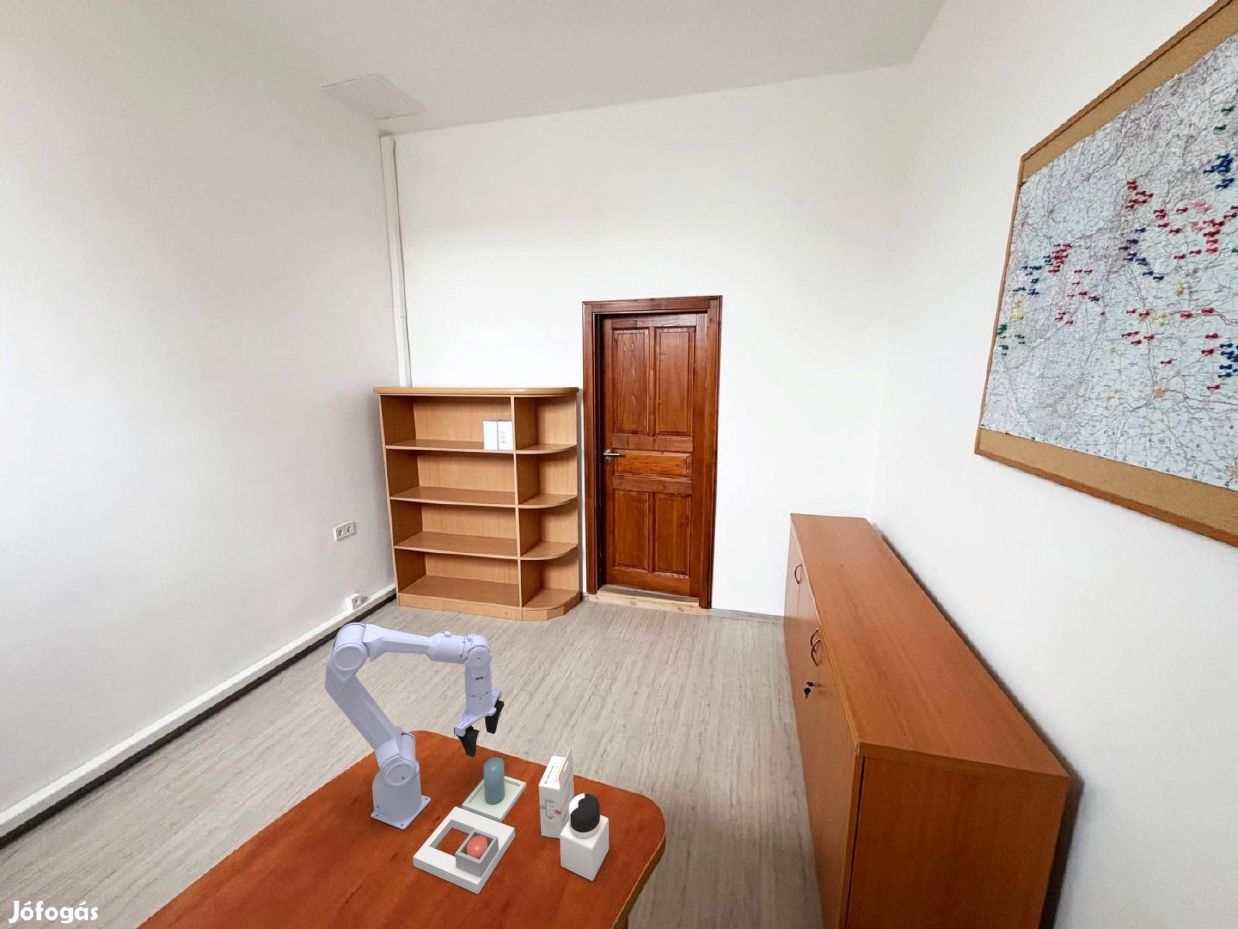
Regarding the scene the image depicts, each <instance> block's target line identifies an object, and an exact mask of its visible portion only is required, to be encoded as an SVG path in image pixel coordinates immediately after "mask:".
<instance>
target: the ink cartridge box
mask: <svg viewBox="0 0 1238 929" xmlns="http://www.w3.org/2000/svg"><path fill="white" fill-rule="evenodd" d="M568 749H569V750H568V751H567V754H566V757H564V756H557V755H552V756H551V758H550V761H549V763H548V765H547V766H546V769H545V771H544V772H543V775H542V777H541V779H540V782H539V784H538V793H539V794H538V796H539V797H538V798H539V814H540V815H539V816H540V818H539V819H540V832H541V833H540V835H541V836H543V837H547V838H554V839H559V840H560V833H561V832H562V830H563V829H564V827H565V826H566V824H567V822H568V821H569V804H570V802H571V801H572V799H573V798H575V788H574V787H575V785H574V782H575V780H574V758H573V750H572V747H571V746H570V747H569V748H568Z"/></svg>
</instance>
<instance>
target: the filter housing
mask: <svg viewBox="0 0 1238 929" xmlns="http://www.w3.org/2000/svg"><path fill="white" fill-rule="evenodd" d="M452 829H455V830H457V831H460V832H463V833H465V834H468V836H467V837H466V838H465V840H464V841H463V842H462V844H461V845H460V847H458V849H457V850H456V852H455V854H454V856H453V855H452V854H449V853H447V852H444V851H442V850H439V849H436V848H437V847H438V846H439V844H440V843H441V842H442V840H443V839H444V838H445V836H446V835H447V834H448V833H449V832H450V831H451V830H452ZM515 833H516V831H515V827H513V826H510V825H507V824H505V823H503V822H502V823H499V822H496V821H494V820H491V819H488V818H486V817H483V816H480V815H477V814H475V813H472V812H469V811H467V810H464V809H462V807H461V808H460V807H458V806H454V807H453V809H452V810H451V811H450V812H449V813H448V815H447V816H446V817H445V818H444V819H443V820H442V822H441V823H440V824H439V825H438V827H436V829H435V830H434V831H433V832H432V834H431V835H429V837H428V838H427V839H426V841H425V842H424V843H423V844H422V846H421V847H420V848H419V849H418V850H417V852H416V853H415V854H414V855H413V857H412V859H413V860H412V861H413V866H414V867H415V868H417V869H420V870H422V871H425V872H426V873H429V874H431V875H433V876H435V877H438V878H440V879H442V880H445V881H447V882H449V883H452V884H454V885H456V886H459V887H460V888H464V889H465V890H467V891H469V892H472V893H474V894H477V895H479V894H480V892H481V890H482V889H483V887H484V886H485V884H486V883H487V881H488V880H489V878H490V877H491V875H492V873H493V872H494V870H495V868H496V867H497V865H498V864H499V862H500V861H501V860H502V858H503V856H504V855H505V853H506V851H507V850H508V848H509V847H510V845H511V844H512V842H513V840H514V839H515V837H516V834H515ZM476 836H484V837H485V838H486V839H487V845H488V848H487V849H486V851H485V852H484V854H483V855H482V857H481V858H480V859H476V858H474V857H471V856H469V855H467V844H468V842H469V841H470V840H471V839H472V838H473V837H476Z"/></svg>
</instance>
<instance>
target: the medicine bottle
mask: <svg viewBox="0 0 1238 929" xmlns="http://www.w3.org/2000/svg"><path fill="white" fill-rule="evenodd" d="M600 808H601V805H600V801H599V800H598V798H597V797H596V796H595V795H593V794H591V793H585V792H584V793H579V794H578V795H576V796H574V798H573V799H572V801H571V802H570V804H569V821H568V822H567V824H566V826H565V827H564V829H563V830H562V832H561V833H560V839H559V845H560V846H559V848H560V866H561V867H562V868H565V869H567V870H568V871H570V872H572V873H575V874H577V875H579V876H580V877H582V878H585V879H587V880H589V881H591V882H593V881H594V880H595V879H596V878H595V877H596V875H597V874H598V872H599V870H600V868H601V866H602V864H603V861H604V860H605V858H606V856H607V854H608V852H609V849H610V834H609V833H610V830H609V828H610V827H609V826H610V825H609V824H610V823H609V822H610V820H609V818H608V817H606V816H604V815H601V809H600Z"/></svg>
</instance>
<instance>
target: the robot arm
mask: <svg viewBox="0 0 1238 929" xmlns="http://www.w3.org/2000/svg"><path fill="white" fill-rule="evenodd" d="M385 653H400V654H418V655H419V654H420V655H426V656H427V657H428V659H429V661H432V662H439V663H447V664H456V665H464V688H465V706H466V707H465V708H464V711H463V713H462V715H461V717H460V719H459V720H458V721H457V724H456V725H455V726H454V728H453V733H454V735H455V736H456V737H457V739H458V740H459V741H460V743H461V745H462V748H463V749H464V752H465V755H466V756H467V757H468V756H469V757H471V758H474V757H475V756H476V755H477V743H478V737H479V733H480V730H479V729H475V727H474V726H473V725H475V723H478V722H479V721H481V720H483V719H484V722H485V730H486V732H487V733H488V734H492V735H495V734H496V732H497V729H498V724H499V720H500V716H501V713H502V711H503V708H504V707H505V702H504V701H503V700H500V699H501V698H503V692H502V691H503V690H502V689H501V688H495V687H494V688H492V668H491V666H490V665H491V663H492V660H493V654H492V651H491V648H490V646H489V642H488V639H487V638H486V637H485V636H484V635H483V634H479V633H476V632H475V633H471V634H469V635H466V636H464V635H457V634H451V631H447V630H444V632H443V633H442V632H437V633H435V634H433V635H432V636H430V637H429V636H424V635H421V634H420V635H419V634H414V633H408V632H405V631H404V632H403V631H400V630H393V629H387V628H384V627H383V626H382V627H381V626H378V625H376V624H372V623H367V624H364V623H360V622H350V623H347V624H346V625H344V626H342V627H341V628H340V629H339V631H338V632H337V633H336V636H335V638H334V640H333V642H332V644H331V648H330V651H329V655H328V658H327V661H326V664H325V680H324V681H325V682H324V689H325V692H326V693H327V694H328V695H329V697H330V698H331V699H332V700H333V702H334V703H335V704H336V705H337V706H338V707H339V710H341V711H342V713H343V714H344V715H345V716H346V717H347V719H348V720H349V721H350V723H351V724H352V725H353V726H354V727H355V729H356V730H357V731H358V733H360V735H361V736H362V737H363V739H364V740H365V741H366V742H367V744H368V745H369V746H370V747H371V748H372V749H373V751H374V754H375V758H376V762H377V765H378V767H379V768H378V769H379V771H378V772H377V773H376V775H375V777H374V780H373V783H372V799H373V811H372V813H371V814H370V817H371V818H373V819H376V820H378V821H380V822H383V823H385V824H387V825H391V826H393V827H394V828H397V829H400V830H406V829H407V828H408V827H409V825H411V823H413V821H414V820H415V819H416V818H417V817H418V816H419V814H420V813H421V812H422V811H423V810H424V809H425V808H426V807H427V805H428V804H429V803H430V802H431V801H432V800H431V797H428V796H426V795H423V794H422V788H421V786H422V785H421V774H420V771H421V770H420V764H419V762H418V761H417V760H416V742H417V741H416V737H415V735H414V734H412V733H411V732H409V731H405V730H404V729H403V728H402V727H401V726H400V725H397V726H396V725H394V724H393V723H392V720H390V718H389V717H388V716H387V715H386V713H385V712H384V710H383V709H382V708H381V707H380V706H379V704H378V703H377V701H376V700H375V699H374V697H372V695H371V694H370V693H369V691H368V690H367V689H366V688H365V685H363V684H362V682H361V681H360V679H359V678H358V677H357V676H356V674H358V672H359V671H360V669H361V668H362V667H363V666H364V664H365V663H366V661H367V659H368V658H369V663H372V662H374V661H375V660H377V659H378V658H380V657H381V656H383V655H384V654H385Z"/></svg>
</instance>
